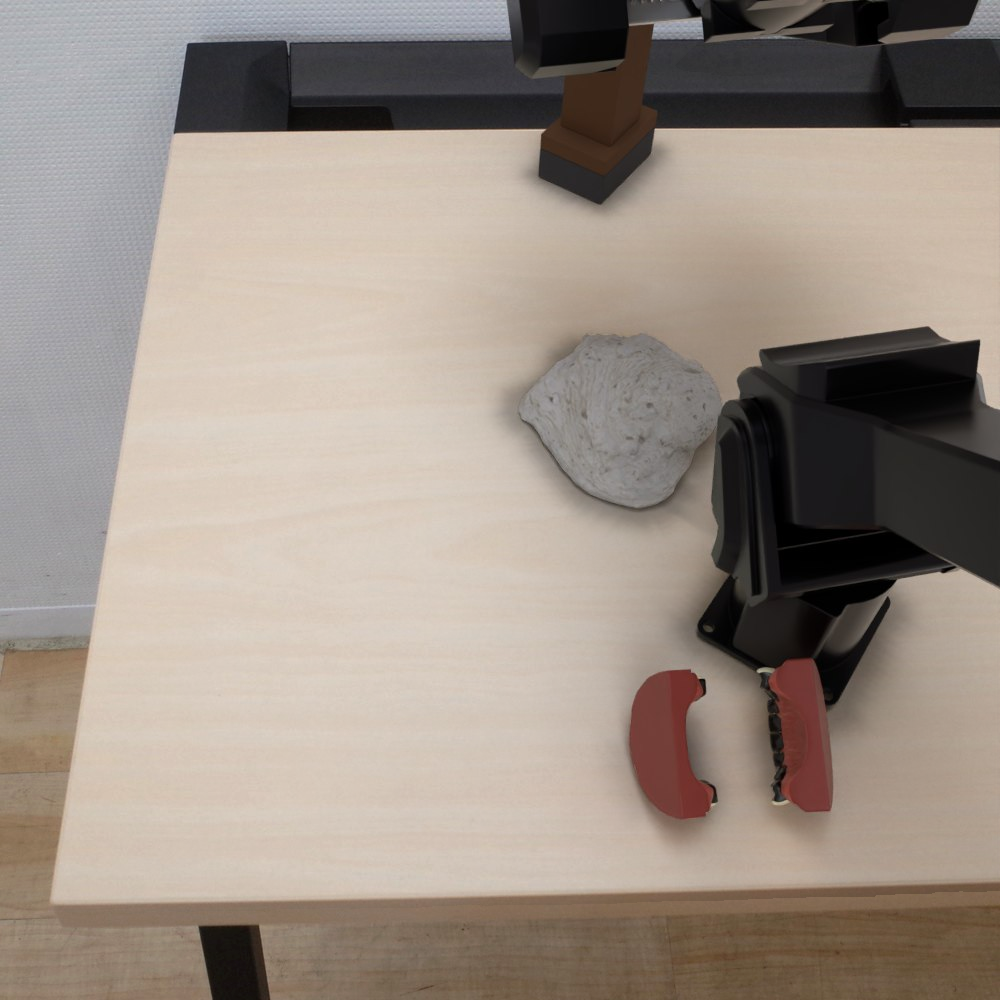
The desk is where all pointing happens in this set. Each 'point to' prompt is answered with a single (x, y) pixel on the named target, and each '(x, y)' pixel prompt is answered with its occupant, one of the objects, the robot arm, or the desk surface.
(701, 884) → the desk surface
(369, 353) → the desk surface
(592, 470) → the stone
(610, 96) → the stamp
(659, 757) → the false teeth
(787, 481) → the robot arm
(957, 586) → the desk surface
